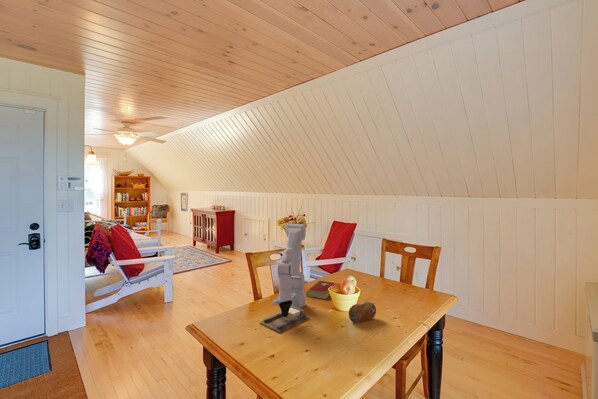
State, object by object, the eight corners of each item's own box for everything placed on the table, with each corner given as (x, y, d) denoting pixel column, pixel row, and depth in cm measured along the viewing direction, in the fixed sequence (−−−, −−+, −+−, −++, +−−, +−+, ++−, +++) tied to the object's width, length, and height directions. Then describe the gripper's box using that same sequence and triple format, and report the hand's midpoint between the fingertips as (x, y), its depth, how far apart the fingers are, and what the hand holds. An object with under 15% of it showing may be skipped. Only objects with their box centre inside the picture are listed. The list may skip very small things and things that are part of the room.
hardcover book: (306, 296, 171) (306, 289, 171) (319, 286, 190) (319, 280, 190) (325, 300, 166) (325, 293, 166) (336, 289, 186) (336, 282, 185)
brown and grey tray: (290, 310, 150) (290, 303, 150) (309, 318, 141) (309, 310, 141) (259, 323, 135) (260, 315, 135) (279, 333, 127) (279, 324, 126)
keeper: (291, 312, 146) (291, 307, 146) (300, 316, 142) (300, 310, 141) (284, 315, 142) (284, 310, 142) (293, 319, 138) (293, 314, 138)
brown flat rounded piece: (351, 325, 135) (351, 307, 135) (347, 322, 138) (347, 304, 138) (376, 319, 142) (376, 301, 142) (371, 316, 145) (372, 299, 145)
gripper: (289, 282, 146) (289, 309, 146) (268, 289, 135) (267, 318, 135) (300, 285, 141) (300, 313, 141) (278, 293, 130) (278, 323, 131)
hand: (284, 316), depth 138 cm, fingers closed
